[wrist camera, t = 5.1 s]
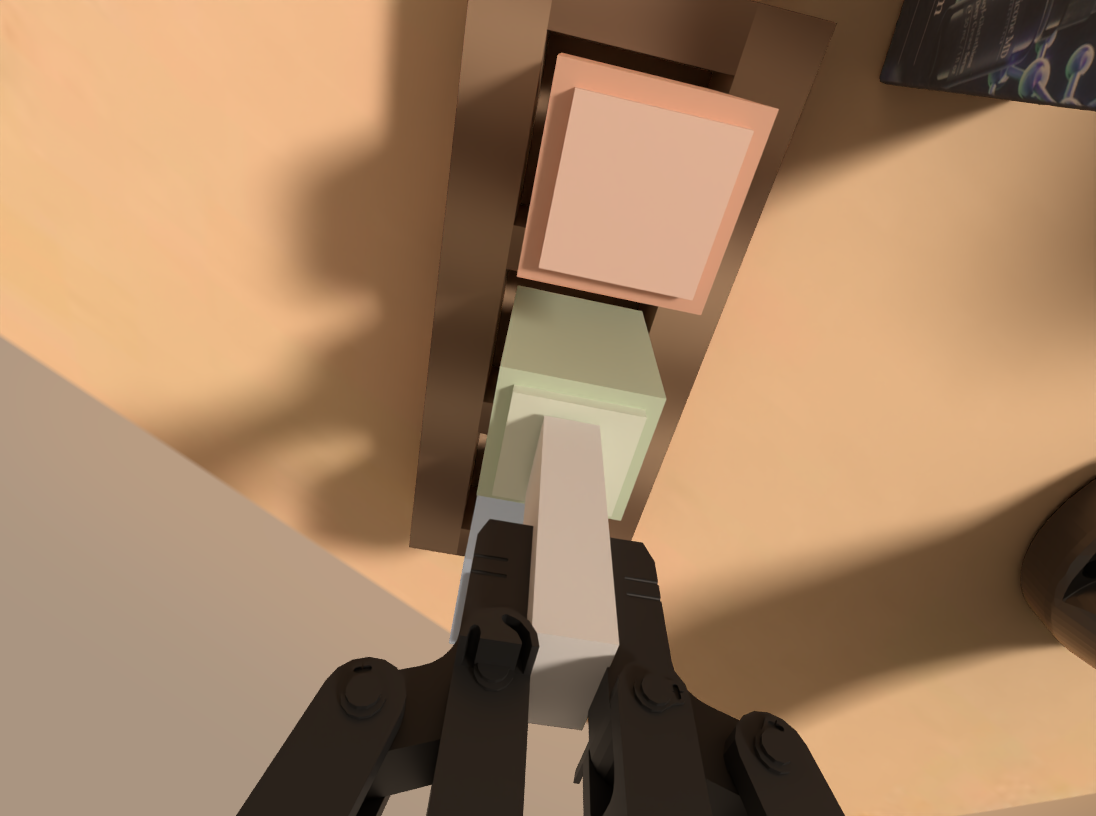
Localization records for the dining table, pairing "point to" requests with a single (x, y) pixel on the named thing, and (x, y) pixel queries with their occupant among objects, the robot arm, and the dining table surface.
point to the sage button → (572, 390)
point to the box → (998, 50)
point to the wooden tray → (500, 220)
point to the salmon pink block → (639, 184)
